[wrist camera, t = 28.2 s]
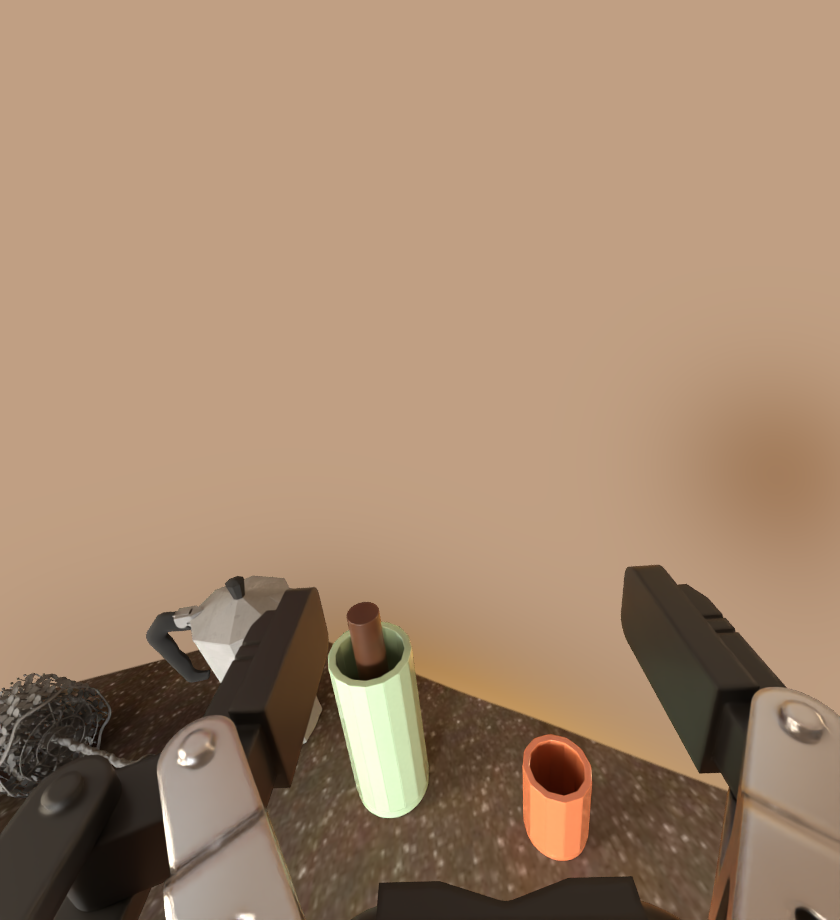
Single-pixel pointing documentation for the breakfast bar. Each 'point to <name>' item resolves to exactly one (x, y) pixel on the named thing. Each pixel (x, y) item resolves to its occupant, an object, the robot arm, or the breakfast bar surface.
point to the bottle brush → (367, 641)
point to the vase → (382, 725)
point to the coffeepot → (220, 628)
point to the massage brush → (47, 730)
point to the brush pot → (556, 796)
